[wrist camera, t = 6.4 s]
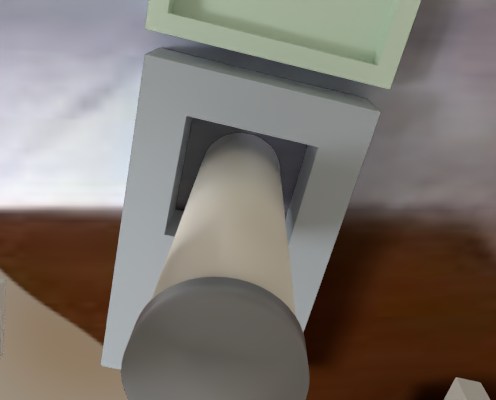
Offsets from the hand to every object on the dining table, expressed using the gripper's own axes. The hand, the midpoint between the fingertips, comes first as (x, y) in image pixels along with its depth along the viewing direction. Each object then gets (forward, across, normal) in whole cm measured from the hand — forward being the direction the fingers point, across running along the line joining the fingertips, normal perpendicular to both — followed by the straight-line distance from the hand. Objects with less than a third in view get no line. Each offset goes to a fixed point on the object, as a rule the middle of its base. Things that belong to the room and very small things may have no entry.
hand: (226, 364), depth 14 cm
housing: (+16, 0, -4) cm, 17 cm away
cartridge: (+16, 0, 0) cm, 17 cm away
